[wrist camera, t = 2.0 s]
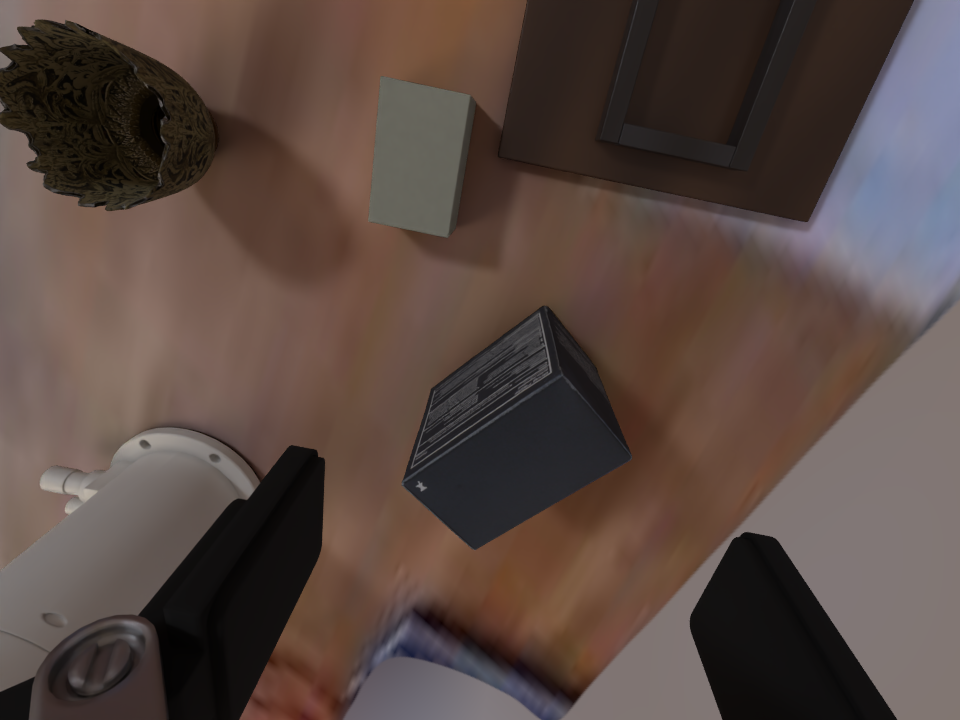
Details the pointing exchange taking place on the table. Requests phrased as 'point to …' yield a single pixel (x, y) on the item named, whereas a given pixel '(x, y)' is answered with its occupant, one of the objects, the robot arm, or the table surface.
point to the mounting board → (698, 93)
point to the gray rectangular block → (420, 156)
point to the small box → (514, 432)
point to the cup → (104, 117)
